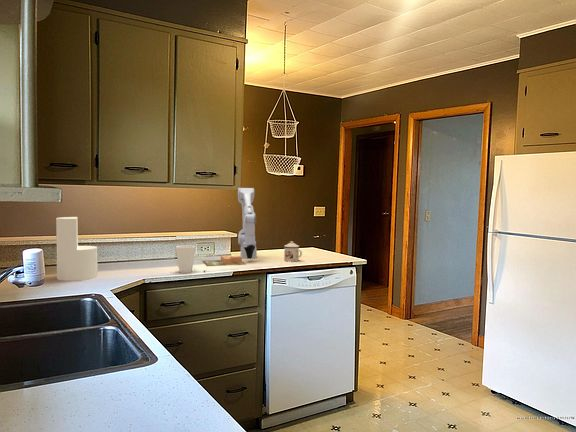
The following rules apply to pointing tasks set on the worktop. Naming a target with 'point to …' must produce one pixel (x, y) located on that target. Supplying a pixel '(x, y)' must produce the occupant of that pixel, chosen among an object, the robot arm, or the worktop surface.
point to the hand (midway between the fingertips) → (249, 258)
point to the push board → (220, 263)
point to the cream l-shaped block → (73, 253)
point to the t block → (231, 259)
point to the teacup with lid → (292, 252)
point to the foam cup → (185, 258)
